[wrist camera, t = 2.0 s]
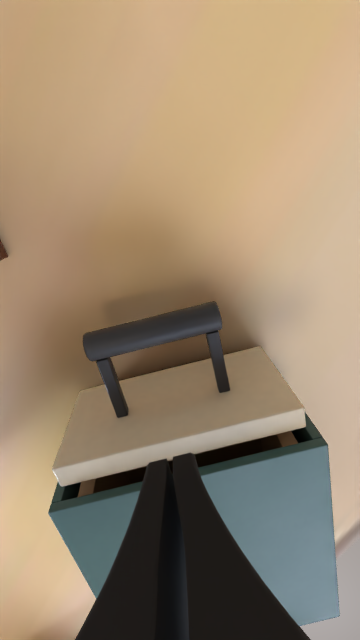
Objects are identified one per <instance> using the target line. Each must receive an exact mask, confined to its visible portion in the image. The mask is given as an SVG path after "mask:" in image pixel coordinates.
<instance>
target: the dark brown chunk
mask: <svg viewBox="0 0 360 640" xmlns="http://www.w3.org/2000/svg"><path fill="white" fill-rule="evenodd" d="M6 257H8V256H7V254H6V251H5V249H4V247H3V244H2V242H1V240H0V260H2V259H4V258H6Z"/></svg>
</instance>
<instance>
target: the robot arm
mask: <svg viewBox="0 0 360 640" xmlns="http://www.w3.org/2000/svg"><path fill="white" fill-rule="evenodd" d="M75 640H310V638H309V637H308V636H307V635H306V634H305V633H304V632H303V630H302V629H301V628H300V627H299V625H298V624H297V623H296V622H295V621H294V619H293V618H292V617H291V616H290V614H289V613H288V612H287V611H286V609H285V608H284V607H283V606H282V604H281V603H280V602H279V600H278V599H277V598H276V597H275V595H274V594H273V593H272V592H271V590H270V589H269V588H268V586H267V585H266V584H265V583H264V581H263V580H262V578H261V577H260V576H259V574H258V573H257V572H256V570H255V569H254V567H253V566H252V565H251V563H250V562H249V560H248V559H247V557H246V556H245V554H244V553H243V551H242V550H241V549H240V547H239V545H238V544H237V542H236V541H235V539H234V538H233V536H232V535H231V533H230V531H229V530H228V528H227V526H226V525H225V523H224V521H223V520H222V518H221V516H220V514H219V513H218V511H217V509H216V507H215V505H214V503H213V501H212V499H211V498H210V496H209V494H208V492H207V490H206V487H205V485H204V483H203V481H202V478H201V476H200V473H199V469H198V466H197V462H196V458H195V455H194V454H193V453H191V452H190V453H186V454H182V455H178V456H174V457H173V476H172V473H171V470H170V467H169V464H168V461H167V458H166V459H162V460H158V461H154V462H149V464H148V465H147V467H146V472H145V476H144V479H143V483H142V487H141V490H140V493H139V496H138V500H137V503H136V506H135V509H134V511H133V514H132V517H131V520H130V523H129V526H128V528H127V531H126V534H125V536H124V539H123V541H122V543H121V546H120V548H119V551H118V553H117V556H116V558H115V561H114V563H113V565H112V567H111V570H110V572H109V574H108V576H107V578H106V581H105V583H104V585H103V587H102V589H101V591H100V593H99V595H98V597H97V599H96V601H95V603H94V605H93V607H92V609H91V611H90V613H89V615H88V616H87V618H86V620H85V622H84V624H83V626H82V628H81V630H80V631H79V633H78V635H77V637H76V639H75Z"/></svg>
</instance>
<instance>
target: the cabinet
mask: <svg viewBox="0 0 360 640" xmlns="http://www.w3.org/2000/svg"><path fill="white" fill-rule="evenodd" d="M305 420H306V427H304V428H300V429H296V430H292V431H291V432H292V433H293V435H294V437H295V439H296V440H297V442H298V443H297V444H293V445H289V446H285V447H281V448H277V449H273V450H269V451H264V452H260V453H256V454H252V455H248V456H244V457H240V458H236V459H232V460H228V461H224V462H220V463H215V464H211V465H207V466H203V467H199V468H198V469H199V473H200V476H201V478H202V481H203V483H204V485H205V487H206V490H207V492H208V494H209V496H210V498H211V499H212V501H213V503H214V505H215V507H216V509H217V511H218V513H219V514H220V516H221V518H222V520H223V521H224V523H225V525H226V526H227V528H228V530H229V531H230V533H231V535H232V536H233V538H234V539H235V541H236V542H237V544H238V545H239V547H240V549H241V550H242V551H243V553H244V554H245V556H246V557H247V559H248V560H249V562H250V563H251V565H252V566H253V567H254V569H255V570H256V572H257V573H258V574H259V576H260V577H261V578H262V580H263V581H264V583H265V584H266V585H267V586H268V588H269V589H270V590H271V592H272V593H273V594H274V595H275V597H276V598H277V599H278V600H279V602H280V603H281V604H282V606H283V607H284V608H285V609H286V611H287V612H288V613H289V614H290V616H291V617H292V618H293V619H294V621H295V622H296V623H297V624H298V625H299V626H302V625H306V624H310V623H314V622H318V621H323V620H327V619H331V618H335V617H339V616H340V613H339V600H338V585H337V571H336V555H335V541H334V527H333V512H332V498H331V483H330V469H329V454H328V444H327V443H326V441H325V440H324V438H322V436H321V434H320V433H319V431H318V430H317V428H316V427H315V426H314V424H313V423H312V421H311V420H310V418H309V417H308V416H307V414H306V413H305ZM172 476H173V474H172ZM142 483H143V481H142V482H138V483H134V484H130V485H126V486H121V487H117V488H113V489H109V490H105V491H101V492H97V493H93V494H89V495H85V496H81V497H78V494H79V489H80V485H81V482H79V483H75V484H71V485H67V486H63V487H62V486H60V484H59V482H58V483H57V487H56V490H55V493H54V496H53V499H52V504H51V505H50V509H49V512H48V513H49V515H50V517H51V519H52V521H53V522H54V524H55V526H56V528H57V530H58V531H59V533H60V535H61V537H62V538H63V540H64V542H65V544H66V546H67V547H68V549H69V551H70V553H71V554H72V556H73V558H74V560H75V562H76V563H77V565H78V567H79V569H80V570H81V572H82V574H83V576H84V578H85V579H86V581H87V583H88V585H89V586H90V588H91V590H92V592H93V594H94V595H95V597H96V599H97V597H98V595H99V593H100V591H101V589H102V587H103V585H104V583H105V581H106V578H107V576H108V574H109V572H110V570H111V567H112V565H113V563H114V561H115V558H116V556H117V553H118V551H119V548H120V546H121V543H122V541H123V539H124V536H125V534H126V531H127V528H128V526H129V523H130V520H131V517H132V514H133V511H134V509H135V506H136V503H137V500H138V496H139V493H140V490H141V487H142Z"/></svg>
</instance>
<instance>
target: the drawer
mask: <svg viewBox="0 0 360 640" xmlns="http://www.w3.org/2000/svg"><path fill="white" fill-rule="evenodd" d="M221 329H222V320H221V315H220V311H219V308H218V305H217V303H216V302H214V301H213V302H209V303H205V304H201V305H197V306H193V307H189V308H185V309H181V310H177V311H173V312H169V313H165V314H161V315H157V316H153V317H149V318H145V319H141V320H137V321H132V322H128V323H124V324H120V325H116V326H112V327H108V328H104V329H100V330H96V331H92V332H88V333H85V334H84V336H83V346H84V350H85V353H86V356H87V358H88V359H89V360H90V361H96V360H97V361H96V363H97V366H98V368H99V371H100V374H101V376H102V379H103V381H104V384H105V385H101V386H96V387H92V388H88V389H84V390H81V391H79V394H78V397H77V400H76V403H75V406H74V408H73V411H72V414H71V417H70V420H69V422H68V425H67V428H66V431H65V434H64V437H63V439H62V442H61V445H60V448H59V451H58V453H57V456H56V459H55V462H54V465H53V468H52V470H53V472H54V474H55V476H56V478H57V480H58V482H59V484H60V486H62V487H63V486H67V485H71V484H75V483H79V482H81V485H80V489H79V494H78V497H81V496H85V495H89V494H93V493H97V492H101V491H105V490H109V489H113V488H117V487H121V486H126V485H130V484H134V483H138V482H142V481H143V479H144V476H145V472H146V467H147V465H148V464H149V462H154V461H158V460H162V459H166V458H167V461H168V464H169V467H170V470H171V473H172V474H173V457H174V456H178V455H182V454H186V453H190V452H191V453H193V454H194V455H195V458H196V462H197V466H198V468H199V467H203V466H207V465H211V464H215V463H220V462H224V461H228V460H232V459H236V458H240V457H244V456H248V455H252V454H256V453H260V452H264V451H269V450H273V449H277V448H281V447H285V446H289V445H293V444H297V443H298V442H297V440H296V439H295V437H294V435H293V433H292V432H291V431H292V430H296V429H300V428H304V427H306V420H305V410H304V406H303V405H302V404H301V402H300V401H299V399H298V398H297V397H296V395H295V394H294V392H293V391H292V390H291V388H290V387H289V385H288V384H287V383H286V381H285V380H284V378H283V377H282V376H281V374H280V373H279V371H278V370H277V369H276V367H275V366H274V364H273V363H272V362H271V360H270V359H269V357H268V356H267V355H266V353H265V352H264V350H263V349H262V348H261V346H259V347H255V348H251V349H246V350H242V351H238V352H234V353H230V354H226V355H223V351H222V346H221V341H220V336H219V332H218V330H221ZM205 333H206V338H207V342H208V347H209V351H210V356H211V358H210V359H206V360H202V361H198V362H194V363H190V364H186V365H182V366H178V367H174V368H169V369H165V370H161V371H157V372H153V373H149V374H145V375H141V376H137V377H133V378H129V379H125V380H121V381H118V378H117V375H116V372H115V369H114V367H113V364H112V361H111V358H110V357H112V356H116V355H120V354H124V353H128V352H132V351H136V350H140V349H145V348H149V347H153V346H157V345H161V344H165V343H169V342H173V341H177V340H181V339H185V338H189V337H193V336H197V335H201V334H205Z"/></svg>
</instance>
